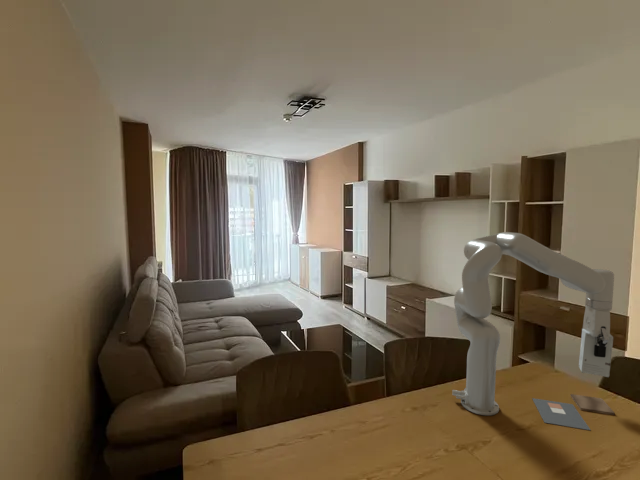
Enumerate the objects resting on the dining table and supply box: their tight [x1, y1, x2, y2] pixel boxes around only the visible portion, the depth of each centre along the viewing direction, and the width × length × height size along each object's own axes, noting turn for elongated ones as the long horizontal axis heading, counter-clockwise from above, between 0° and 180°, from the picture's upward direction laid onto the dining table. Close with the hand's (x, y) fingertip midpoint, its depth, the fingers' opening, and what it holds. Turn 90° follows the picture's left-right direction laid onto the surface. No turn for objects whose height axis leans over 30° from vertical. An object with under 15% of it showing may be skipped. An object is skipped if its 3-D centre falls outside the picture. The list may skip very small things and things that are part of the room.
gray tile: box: [532, 397, 592, 431], centre depth 122 cm, size 13×16×1 cm
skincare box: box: [578, 328, 614, 378], centre depth 126 cm, size 8×6×15 cm
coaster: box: [570, 393, 616, 416], centre depth 128 cm, size 10×10×1 cm
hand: (595, 352), depth 126 cm, fingers closed on skincare box, 6 cm apart
